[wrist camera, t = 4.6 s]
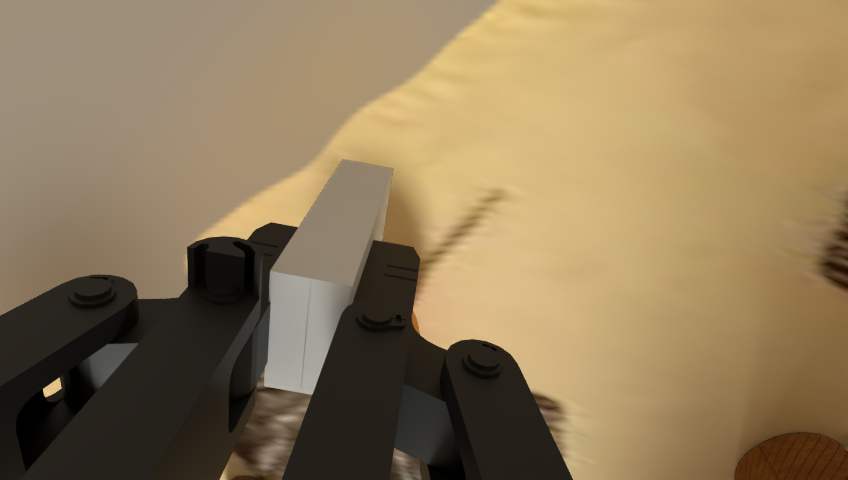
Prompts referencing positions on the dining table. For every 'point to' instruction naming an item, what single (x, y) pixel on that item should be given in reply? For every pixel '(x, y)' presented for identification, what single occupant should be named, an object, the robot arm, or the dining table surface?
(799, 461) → the disposable coffee cup
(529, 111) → the dining table surface
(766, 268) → the dining table surface
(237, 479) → the outer post
